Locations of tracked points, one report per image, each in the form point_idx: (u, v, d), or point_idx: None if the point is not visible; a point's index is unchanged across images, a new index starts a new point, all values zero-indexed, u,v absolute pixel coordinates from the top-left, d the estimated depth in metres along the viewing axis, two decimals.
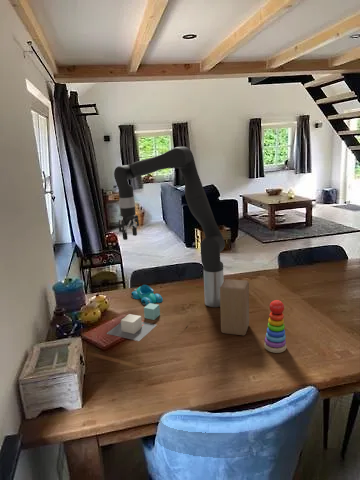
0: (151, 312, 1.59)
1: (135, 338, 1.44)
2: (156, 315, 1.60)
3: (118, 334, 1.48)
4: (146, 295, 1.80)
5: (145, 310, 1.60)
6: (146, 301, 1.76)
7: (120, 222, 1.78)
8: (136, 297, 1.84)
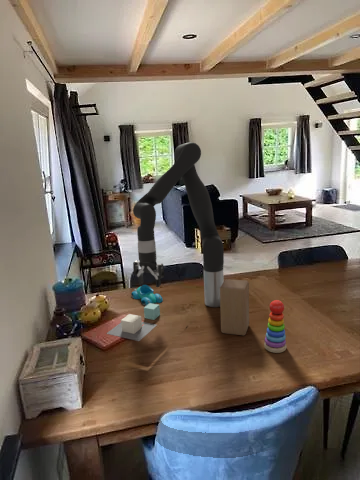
0: (151, 312, 1.59)
1: (135, 338, 1.44)
2: (156, 315, 1.60)
3: (118, 334, 1.48)
4: (146, 295, 1.79)
5: (145, 310, 1.60)
6: (146, 301, 1.76)
7: (161, 266, 1.53)
8: (136, 297, 1.84)
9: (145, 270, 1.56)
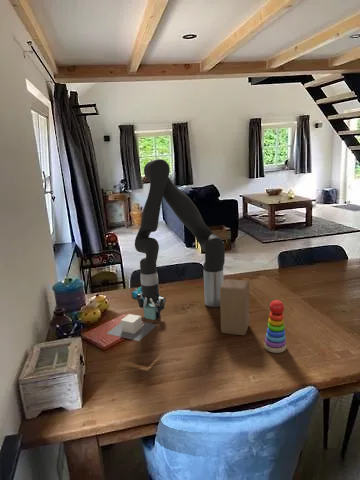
0: (151, 312, 1.59)
1: (135, 338, 1.44)
2: None
3: (118, 334, 1.48)
4: None
5: (145, 310, 1.60)
6: None
7: (164, 301, 1.57)
8: (136, 297, 1.84)
9: (149, 301, 1.59)
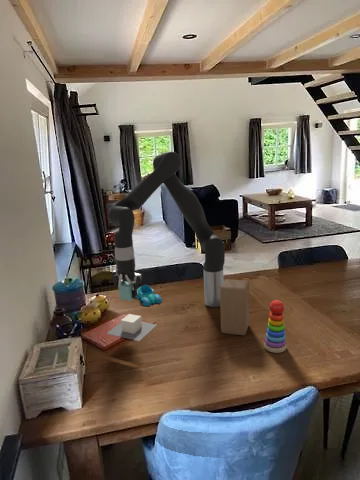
0: (126, 290, 1.45)
1: (135, 338, 1.44)
2: None
3: (118, 334, 1.48)
4: (145, 295, 1.79)
5: (120, 288, 1.46)
6: (144, 301, 1.76)
7: (140, 277, 1.43)
8: None
9: (124, 278, 1.45)
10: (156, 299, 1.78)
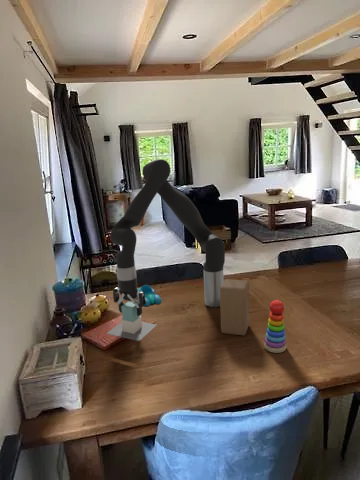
0: (129, 311, 1.47)
1: (135, 338, 1.44)
2: (134, 314, 1.48)
3: (118, 334, 1.48)
4: (145, 295, 1.79)
5: (123, 309, 1.48)
6: None
7: (142, 294, 1.45)
8: None
9: (125, 298, 1.48)
10: (155, 299, 1.77)
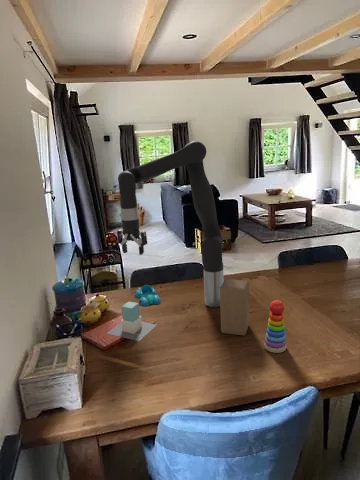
0: (129, 311, 1.47)
1: (135, 338, 1.44)
2: (134, 314, 1.48)
3: (118, 334, 1.48)
4: (145, 295, 1.79)
5: (123, 309, 1.48)
6: (142, 301, 1.76)
7: (144, 234, 1.57)
8: (137, 296, 1.85)
9: (128, 238, 1.61)
10: (154, 300, 1.77)
